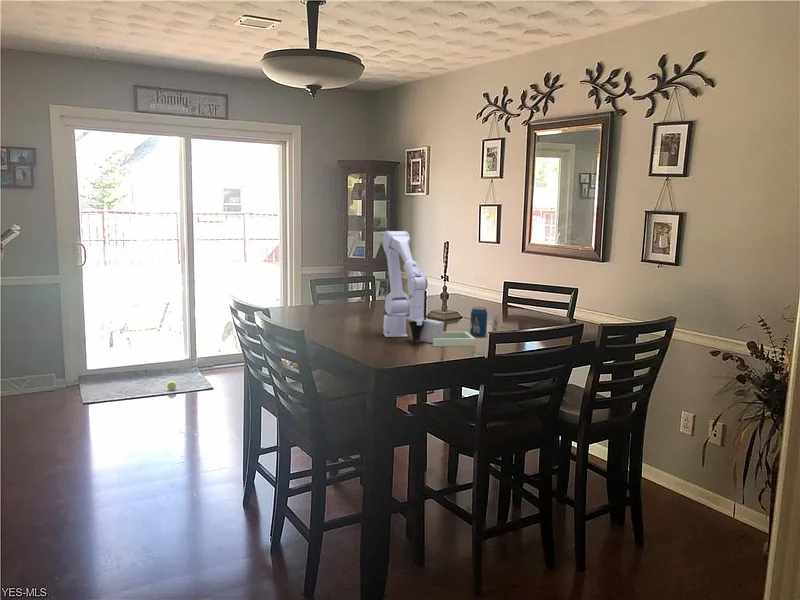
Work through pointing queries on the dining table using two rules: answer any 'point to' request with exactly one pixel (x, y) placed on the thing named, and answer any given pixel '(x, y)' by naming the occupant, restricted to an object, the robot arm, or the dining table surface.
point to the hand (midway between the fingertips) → (415, 339)
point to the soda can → (478, 322)
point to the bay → (455, 339)
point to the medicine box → (432, 330)
